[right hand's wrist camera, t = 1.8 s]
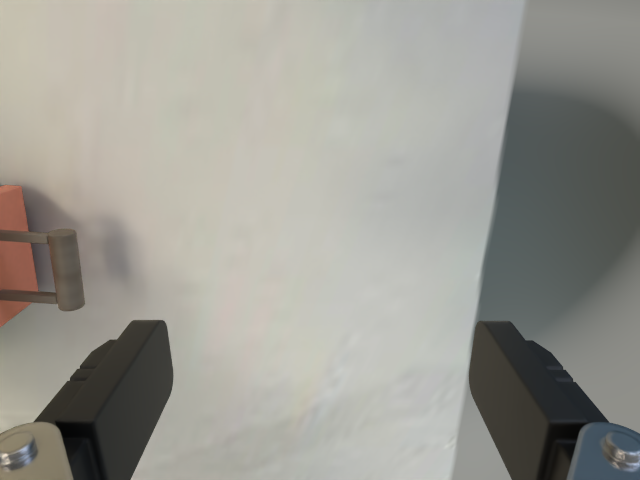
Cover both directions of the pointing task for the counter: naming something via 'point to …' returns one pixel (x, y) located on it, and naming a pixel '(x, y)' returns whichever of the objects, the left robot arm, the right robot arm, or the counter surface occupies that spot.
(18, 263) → the drawer
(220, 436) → the counter surface
